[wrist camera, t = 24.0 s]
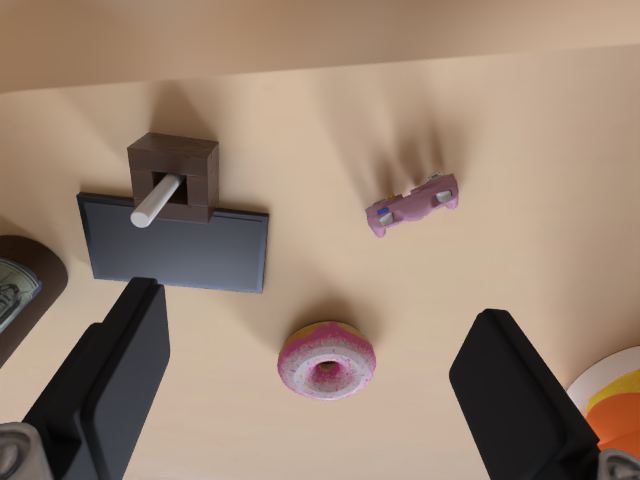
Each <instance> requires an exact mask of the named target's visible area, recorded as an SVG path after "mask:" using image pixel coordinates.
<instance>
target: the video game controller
mask: <svg viewBox="0 0 640 480" xmlns="http://www.w3.org/2000/svg"><path fill="white" fill-rule="evenodd" d="M439 173H440V172H434V173H432V174H430V175H429V177H432V178H431V179H430V180H429V182H427V183H426V184H425V185H422V186H420V187H417V188H415V189H413V190H411V191H410V192H411V195H408V196H407V197H404V198H403V196H402V194H400V195H397V196H395V195H394V194H390V195H389V196H388V199H387V200H385V199H384V200H381V201H379V202H377V203H374V205H373V206H371V207H368V208H367V209H365V211H366V213H367V220H368V224H369V226H370V227H371V229H372V230H373V232H374V233H375V235H376V236H377V237H379V238H382V237H384V235H385V233H386V232H385V228H388V227H392V226H395V225H398V224H400V223H403V222H410V221H417V220H420V219H422V218H424V217H425V216H427V215H428V214H429V213H430V212H432V211H433V210H436V209H438V208H440V207H443V206H445V205H446V207H447V208H448V209H450V210H454V209H455V208H456V207H457V205H458V187H457V182H456V180H455V177H454V175H453V174H450V175H448V176H441V175H437V174H439ZM429 177H428V178H429Z"/></svg>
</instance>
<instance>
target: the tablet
mask: <svg viewBox="0 0 640 480" xmlns="http://www.w3.org/2000/svg"><path fill="white" fill-rule="evenodd" d="M76 197H77V201H78V206H79V210H80V215H81V220H82V224H83V229H84V233H85V238H86V242H87V247H88V252H89V256H90V261H91V265H92V270H93V274H94V279H104V280H115V281H126V282H130V280H131V279H132V278H133V277H146V278H155V279H157V281H158V284H163V285H171V286H183V287H194V288H205V289H216V290H228V291H239V292H250V293H262V288H263V277H264V265H265V254H266V242H267V231H268V219H269V214H267V213H258V212H250V211H241V210H232V209H223V208H215V211H214V213H213V215H212V217H211V219H210V221H209V223H208V224H200V223H191V222H182V221H173V220H164V219H153V220H152V221H151V223H150V224H149V225H148V226H147V227H143V228H141V227H137V226H136V225H134V224H133V223H132V221H131V214H132V213H133V212H134V211H135V204H134V198H128V197H119V196H110V195H101V194H93V193H84V192H80V193H79V194H78V195H76Z"/></svg>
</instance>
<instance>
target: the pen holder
mask: <svg viewBox="0 0 640 480" xmlns="http://www.w3.org/2000/svg"><path fill="white" fill-rule="evenodd" d="M127 151H128V158H129V166H130V173H131V181H132V189H133V196H134V204H135V209H136V208H137V207H138V206H139V205H140V204H141V203H142V202H143V201H144V200H145V198H146V197H147V196H148V195H149V194H150V193H151V192H152V191H153V190H154V188H155V187H156V186H157V185H158V184H159V183H160V182H161V181H162V180H163V178H164V177H165V176H166V175H167V174H168V173H173V174H181V175H187V183H180V185H179V186H178V187H177V189H176V190H175V191H174V193H173V194H172V195H171V197H170V198H169V199H168V200H167V202H166V203H165V204H164V206H163V207H162V208H161V210H160V211H159V212H158V214H157V215H156V216H155V217H154V219H164V220H173V221H182V222H191V223H200V224H208V223H209V221H210V219H211V217H212V215H213V213H214V211H215V208H216V206H217V204H218V173H219V161H218V160H219V142H214V141H207V140H200V139H192V138H185V137H178V136H170V135H163V134H155V133H147V134H146V135H144V136H143V137H141V138H140V139H139V140H137V141H136V142H134V143H133V144H131V145H130V146H129V147H127Z"/></svg>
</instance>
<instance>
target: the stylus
mask: <svg viewBox="0 0 640 480" xmlns="http://www.w3.org/2000/svg"><path fill="white" fill-rule="evenodd" d="M186 176H187V175H181V174H173V173H168V174H167V175H166V176H165V177H164V178H163V180H162V181H161V182H160V183H159V184H158V185H157V186H156V187H155V188H154V190H153V191H152V192H151V193H150V194H149V195H148V196H147V197H146V198H145V200H144V201H143V202H142V203H141V204H140V205H139V206H138V207H137V208H136V209H135V211H134V212H133V213H132V214H131V221H132V223H133V224H134V225H136V226H137V227H141V228H143V227H147V226H148V225H149V224H150V223H151V221H152V220H153V219H154V217H155V216H156V215H157V214H158V212H159V211H160V210H161V208H162V207H163V206H164V204H165V203H166V202H167V200H168V199H169V198H170V197H171V195H172V194H173V193H174V191H175V190H176V189H177V187H178V186H179V185H180V183H181V182H182V181H183V180H184V178H185V177H186Z"/></svg>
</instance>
